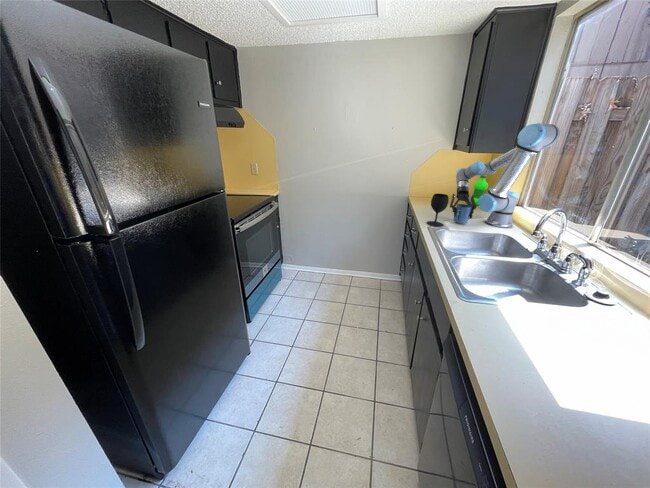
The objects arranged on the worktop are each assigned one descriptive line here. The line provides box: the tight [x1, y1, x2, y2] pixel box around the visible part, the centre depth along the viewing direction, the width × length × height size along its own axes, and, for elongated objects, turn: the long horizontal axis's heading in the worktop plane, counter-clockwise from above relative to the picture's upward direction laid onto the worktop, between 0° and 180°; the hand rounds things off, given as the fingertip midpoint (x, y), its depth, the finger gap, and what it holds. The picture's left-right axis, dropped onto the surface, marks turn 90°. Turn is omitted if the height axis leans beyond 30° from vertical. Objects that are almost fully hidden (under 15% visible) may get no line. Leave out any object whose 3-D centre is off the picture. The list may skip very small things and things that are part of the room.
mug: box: [452, 203, 472, 224], centre depth 174 cm, size 12×9×11 cm
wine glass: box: [426, 193, 450, 228], centre depth 170 cm, size 10×10×20 cm
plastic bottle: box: [469, 175, 489, 207], centre depth 220 cm, size 10×10×25 cm
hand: (463, 217), depth 173 cm, fingers closed on mug, 9 cm apart
